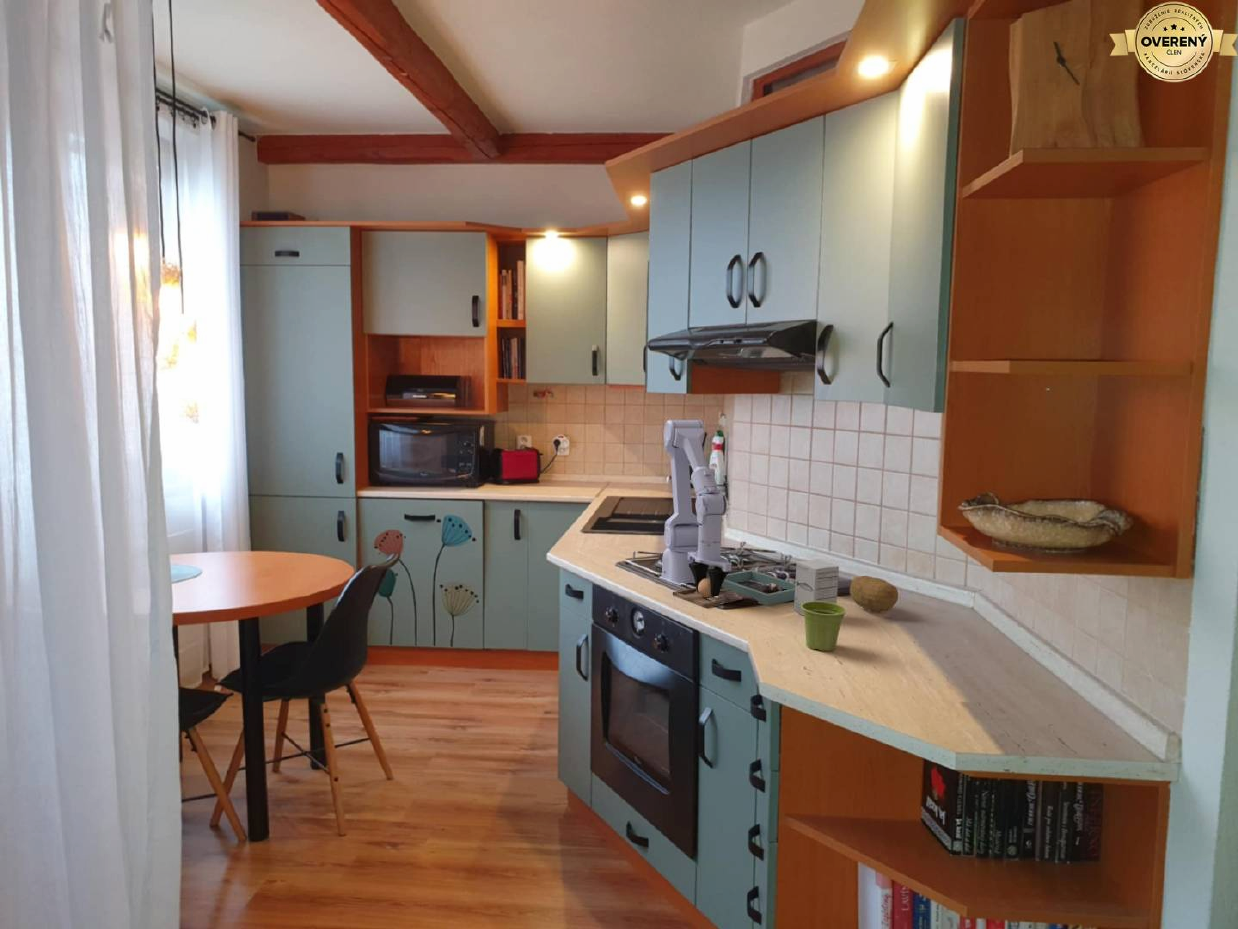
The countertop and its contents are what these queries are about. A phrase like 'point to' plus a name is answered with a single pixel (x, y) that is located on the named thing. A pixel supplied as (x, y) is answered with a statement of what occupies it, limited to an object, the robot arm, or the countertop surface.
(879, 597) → the potato
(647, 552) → the countertop surface
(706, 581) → the ball
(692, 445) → the robot arm
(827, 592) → the supplement box
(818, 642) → the plant pot
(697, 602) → the wooden trivet
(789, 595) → the tray
